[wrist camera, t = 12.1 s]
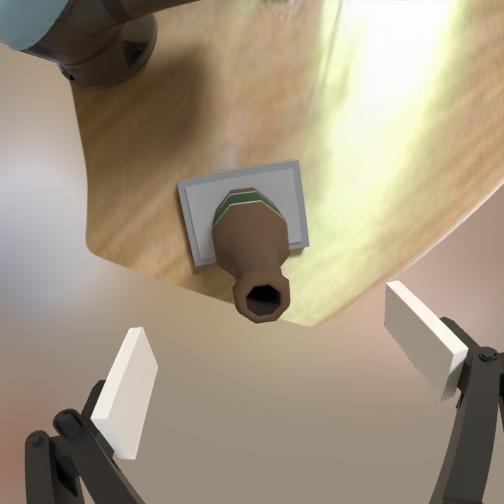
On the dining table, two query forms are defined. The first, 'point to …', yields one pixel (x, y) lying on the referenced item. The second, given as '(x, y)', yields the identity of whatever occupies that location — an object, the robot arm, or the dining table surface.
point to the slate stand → (258, 176)
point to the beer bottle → (253, 253)
